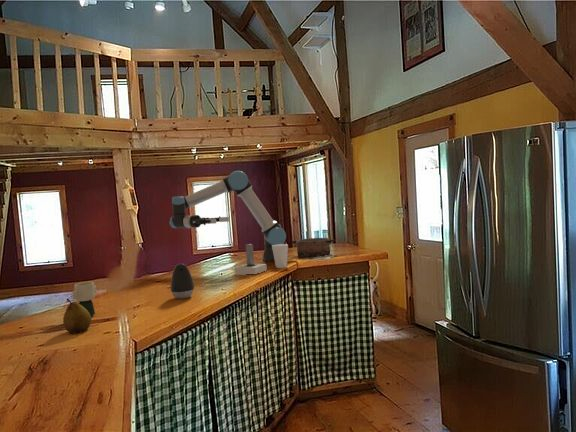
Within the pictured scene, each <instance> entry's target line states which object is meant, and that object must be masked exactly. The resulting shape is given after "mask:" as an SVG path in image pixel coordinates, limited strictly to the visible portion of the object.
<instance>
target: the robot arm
mask: <svg viewBox="0 0 576 432" xmlns="http://www.w3.org/2000/svg"><path fill="white" fill-rule="evenodd" d="M232 192H234V194H235V195H236V197H240V198H241V200H242V201H243V202H244V204H245V206H246V207H247V209H248V210H249V211H250V213H251V214H252V216H253V218H254V219H255V220H256V221H257V224H259V227H261V233H262V235H263V239H264V251H263V255H262V260H263V261H265V262H275V260H274V254H273V250H272V245H277V244H285V241H286V240H287V233H286V231H285V230H284V228H282V225H281V224H280V223H278V221H277V220H274V219H273V218H272V216H271V215H270V214H269V212H268V211H267V209H266V207H265V206H264V205H263V203H262V202H261V200H260V199H259V197H258V196H257V195H256V193H255V192H254V190H253V184H252V183H251V181H250V180H249V178H248V175H247V174H246V173H245V172H243V171H241V170H234V171H232V172H231V173H230V174H229V175H228V176H226V177H224V178H222V179H221V180H220V181H219V182H216V183H214V184H212V185H209V186H207V187H204V188H202V189H200V190H198V191H196V192H193V193H190V194H189V195H186V196H183V195H182V196H181V195H180V196H172V197H171V205H172V206H171V207H172V215H171V217H169V222H168V223H169V226H170V227H171V228H173V229H188V230H190V229H191V228H200V227H201V225H204V226H206V225H207V224H208V225H209V224H212V225H214V224H217V223H219V222H220V223H223V222H224V223H226V222H230V217H229V216H222V217H221V216H218V217H201V216H200V215H199V214H195V215H194V214H187V213H186V210H188V209H189V208H192V207H195V206H197V205H199V204H201V203H204V202H206V201H208V200H212V199H213V198H215V197H218V196H220V195H222V194H224V193H227V194H229V193H232ZM186 214H187V215H186Z"/></svg>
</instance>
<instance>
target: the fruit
mask: <svg viewBox="0 0 576 432" xmlns="http://www.w3.org/2000/svg"><path fill="white" fill-rule="evenodd" d="M66 301H68V302H69V303H68V306H67V307H66V309H65V312H64V314H63V321H62V322H63V327H64V330H65V331H67V332H68V333H70V334H79V333H82V332H85V331H87V330H88V329H89V328H90V326H91V325H92V324H91V323H92V316H91V315H90V313H89V312H88V311H87V310H86V309H85V308H84V307H83V306H82V305H80V304H79V302H78V301H72V302H71V300H70V299H69V298H66Z"/></svg>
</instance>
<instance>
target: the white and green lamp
mask: <svg viewBox="0 0 576 432" xmlns="http://www.w3.org/2000/svg"><path fill="white" fill-rule="evenodd" d="M73 289H74V290H73V291H72V292H71V293H72V299H73V300H76V301H75V302H78V303H79V304H80V305H82V306H83V307H84V308H85V309H86V310H87V311H88V312H89V313H90V315H91V317H92V316H94V315H95V314H96V312H95V311H96V310H95V307H94V302H93V300H94V299H95V298H96V297H95V296H96V294H97V286H96V285H95V284H94V282H93V281H91V282H89V281H86V282H85V281H84V282H79V283H75V284H74V286H73Z"/></svg>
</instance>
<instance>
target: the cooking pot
mask: <svg viewBox="0 0 576 432" xmlns="http://www.w3.org/2000/svg"><path fill="white" fill-rule="evenodd" d="M335 241H336V239H330V238H329V237H311V238H302V239H301V238H300V239H298V240H297V239H296V240H292V241H291V243H292V244H296V252H297V256H299V257H298V258H306V257H308V258H318V257H317V256H322V257H326V256H325V255H327V256H329V254H330V255H331V243H334V242H335Z"/></svg>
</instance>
